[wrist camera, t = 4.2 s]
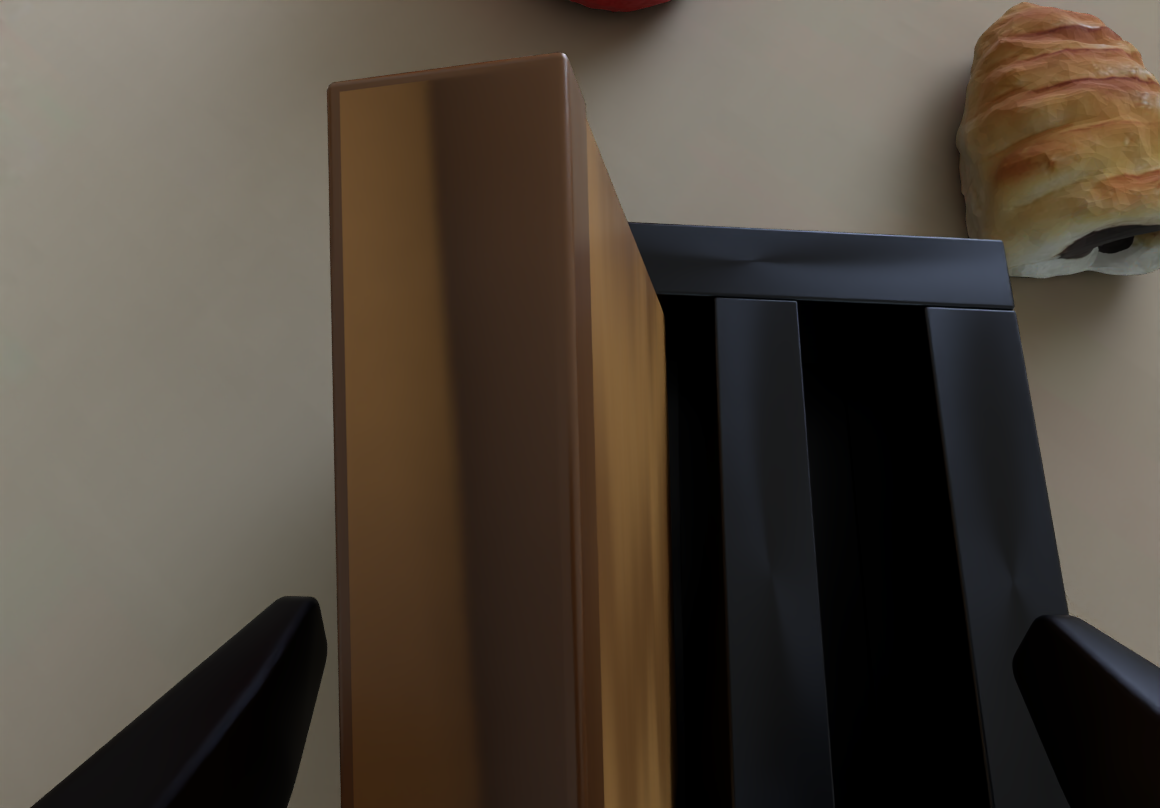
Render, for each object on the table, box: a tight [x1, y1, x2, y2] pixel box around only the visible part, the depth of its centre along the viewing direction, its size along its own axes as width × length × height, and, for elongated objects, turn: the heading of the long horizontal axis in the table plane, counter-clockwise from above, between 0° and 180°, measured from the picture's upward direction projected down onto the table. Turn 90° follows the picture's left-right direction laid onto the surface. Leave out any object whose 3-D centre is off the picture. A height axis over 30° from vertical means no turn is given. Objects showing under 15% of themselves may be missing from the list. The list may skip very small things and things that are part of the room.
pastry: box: [956, 2, 1160, 278], centre depth 20 cm, size 9×7×4 cm
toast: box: [327, 52, 678, 808], centre depth 8 cm, size 9×1×10 cm, turn 2°
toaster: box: [628, 222, 1070, 808], centre depth 14 cm, size 13×11×7 cm
